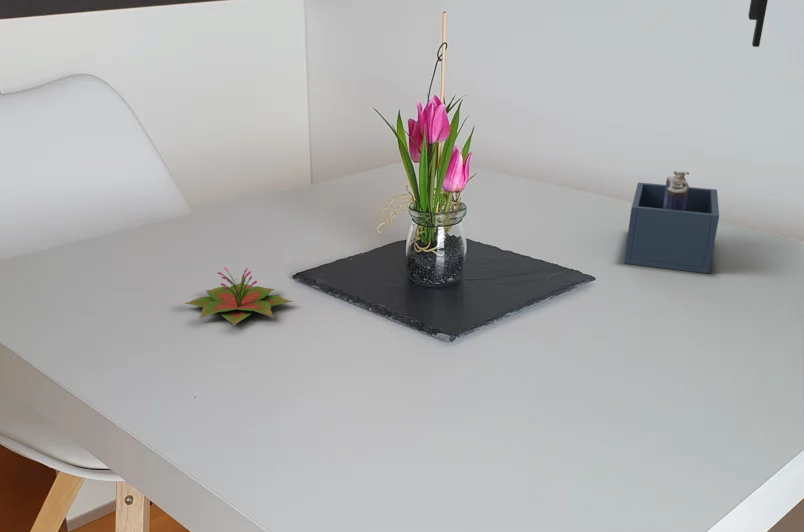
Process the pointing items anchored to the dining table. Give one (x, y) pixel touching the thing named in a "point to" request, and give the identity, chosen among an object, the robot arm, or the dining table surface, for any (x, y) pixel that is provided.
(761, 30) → the robot arm
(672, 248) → the bin
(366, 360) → the dining table surface
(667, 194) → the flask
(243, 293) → the lily flower
